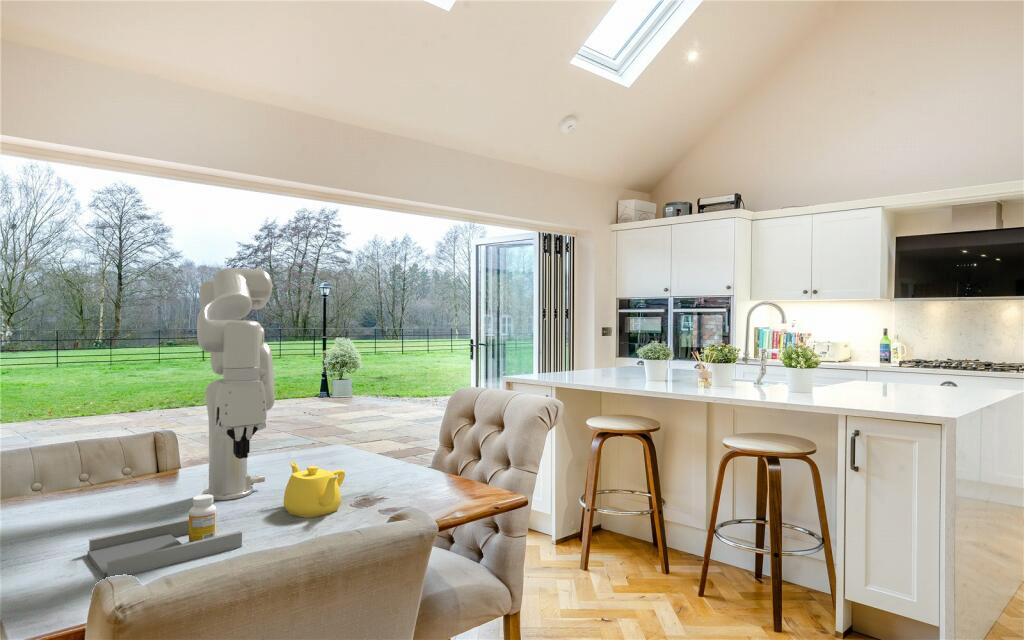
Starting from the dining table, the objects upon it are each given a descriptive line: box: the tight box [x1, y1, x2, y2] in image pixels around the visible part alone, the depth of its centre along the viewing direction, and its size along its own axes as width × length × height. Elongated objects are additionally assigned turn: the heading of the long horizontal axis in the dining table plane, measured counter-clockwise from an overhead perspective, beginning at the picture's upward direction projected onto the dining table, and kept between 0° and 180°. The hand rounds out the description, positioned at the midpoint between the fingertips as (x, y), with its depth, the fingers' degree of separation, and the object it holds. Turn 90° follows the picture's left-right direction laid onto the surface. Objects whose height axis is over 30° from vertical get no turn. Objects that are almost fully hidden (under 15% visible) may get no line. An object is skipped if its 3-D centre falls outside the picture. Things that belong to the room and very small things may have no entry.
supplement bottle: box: [188, 494, 218, 543], centre depth 132 cm, size 5×5×10 cm
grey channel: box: [87, 518, 243, 579], centre depth 127 cm, size 24×17×3 cm
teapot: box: [283, 462, 346, 518], centre depth 156 cm, size 22×16×11 cm
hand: (241, 457), depth 137 cm, fingers closed
